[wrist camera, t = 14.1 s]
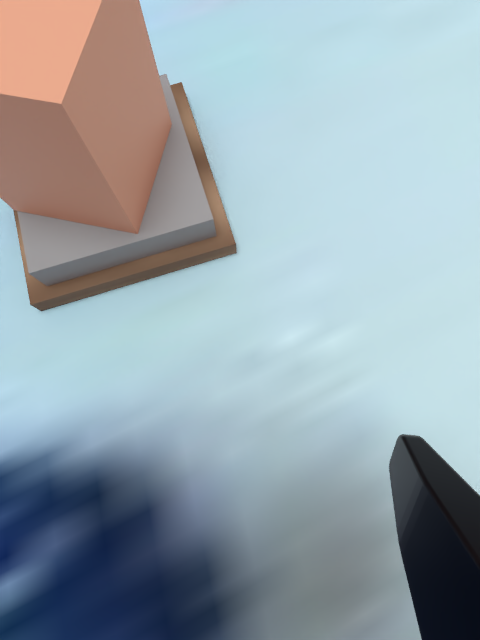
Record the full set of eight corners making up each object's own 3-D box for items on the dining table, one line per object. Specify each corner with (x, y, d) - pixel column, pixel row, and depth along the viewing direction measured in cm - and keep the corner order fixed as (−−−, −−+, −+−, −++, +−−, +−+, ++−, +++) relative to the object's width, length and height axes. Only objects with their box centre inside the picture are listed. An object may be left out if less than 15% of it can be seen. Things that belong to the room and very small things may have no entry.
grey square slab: (216, 236, 24) (213, 219, 22) (47, 286, 23) (28, 273, 21) (172, 100, 26) (166, 74, 24) (19, 142, 26) (0, 119, 24)
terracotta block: (137, 234, 22) (60, 103, 13) (14, 210, 22) (-138, 70, 14) (171, 123, 23) (124, -56, 15) (56, 104, 24) (-55, -79, 15)
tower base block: (236, 257, 26) (235, 243, 24) (47, 314, 25) (30, 304, 23) (186, 105, 29) (181, 82, 27) (17, 153, 28) (-1, 132, 26)
